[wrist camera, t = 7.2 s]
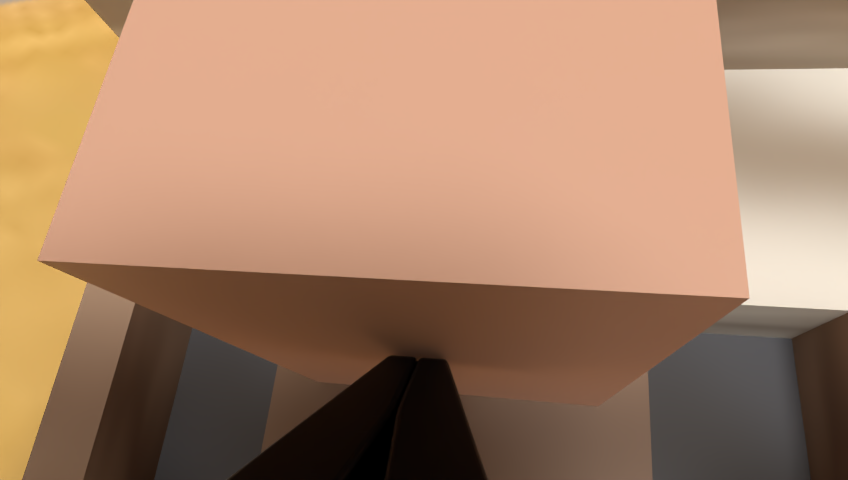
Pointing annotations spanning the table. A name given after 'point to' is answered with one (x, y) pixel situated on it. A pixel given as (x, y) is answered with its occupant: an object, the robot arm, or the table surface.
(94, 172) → the block
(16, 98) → the table surface
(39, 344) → the table surface
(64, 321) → the table surface
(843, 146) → the brown piece
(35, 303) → the table surface
